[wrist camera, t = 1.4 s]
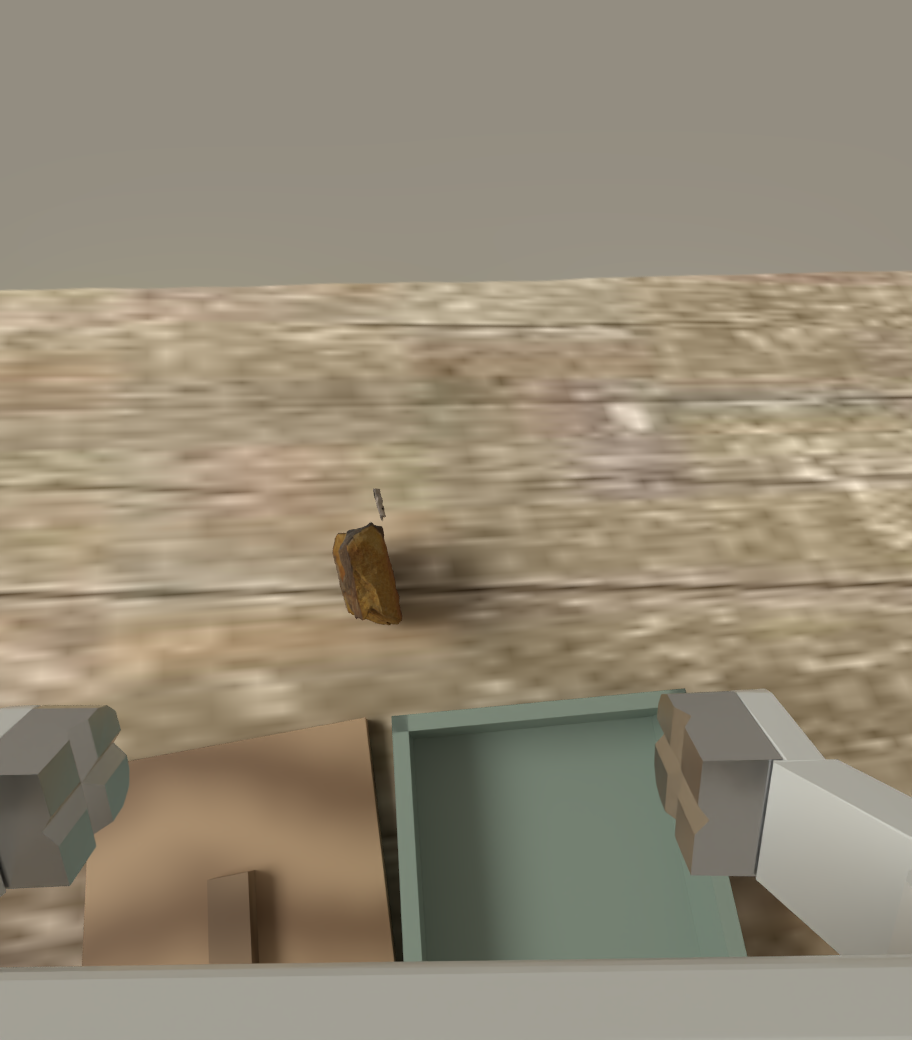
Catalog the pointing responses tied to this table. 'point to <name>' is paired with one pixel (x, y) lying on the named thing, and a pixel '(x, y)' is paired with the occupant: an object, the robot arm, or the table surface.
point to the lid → (244, 857)
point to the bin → (547, 838)
